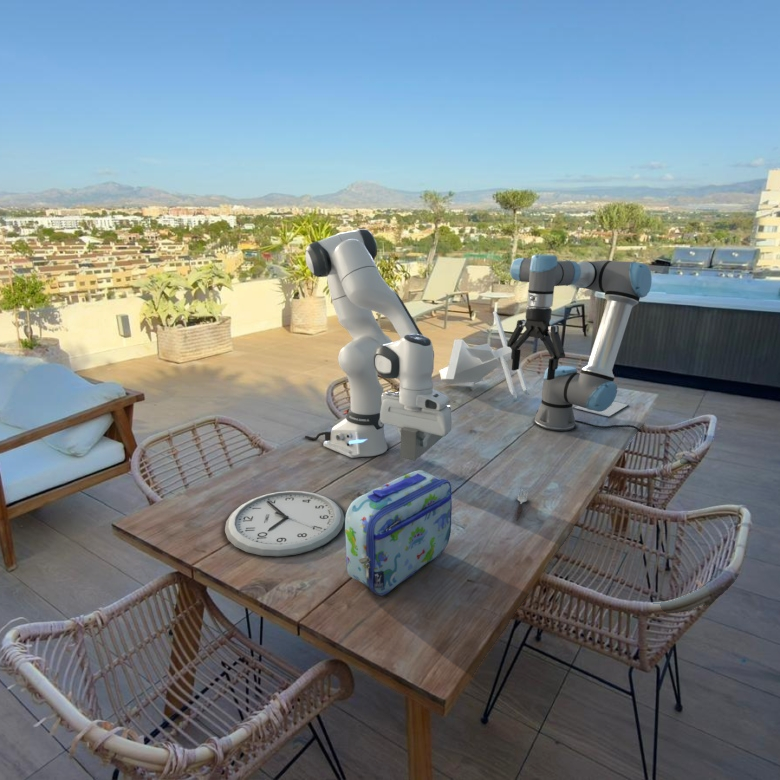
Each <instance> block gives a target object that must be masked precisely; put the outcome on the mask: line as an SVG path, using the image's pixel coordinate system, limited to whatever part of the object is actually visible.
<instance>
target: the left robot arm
mask: <svg viewBox="0 0 780 780" xmlns="http://www.w3.org/2000/svg"><path fill="white" fill-rule="evenodd" d="M304 251H305V256H304V257H305V258H304V260H305V264H306V266H307V269H308V270H309V272H310V273H311V274H312V275H313V276H315V277H316V278H326V280H327V287H328V292H329V295H330V298H331V302H332V305H333V308H334V310H335V314H336V317H337V320H338V323H339V324H340V326H341V327H343V328H344V329H345V330H346V331H347V332H348V334H349V336H350V337H351V338H352V340H350V341H349V342H348V343H346V344H345V345H344V346H343V347H342V348H341V349H340V350H339V353H338V355H337V356H338V357H337V361H338V365H339V367H340V369H341V370H342V371H343V372H344V374H345V375H346V379H347V381H348V384H349V396H350V397H349V400H350V405H349V406H350V407H349V408H347V409H346V410H344V411H343V415H346V417H345V418H343V419H342V420H341V421H339V422H338V423H336V424H335V425H334V426H332V425H331V426H330V427H328V428H327V429H326V430H325V431H322V432H319V433H318V434H316V436H315V437H312V436H308V435H305V436H304V439H307V440H311V441H316V440H318V439H319V438H320V437H321V436H324V441H323V447H324V448H327V449H329V450H331V451H334V452H336V453H338V454H341V455H343V456H346V457H349V458H352V459H354V458H355V459H356V458H361V457H363V458H364V457H375V456H379V455H382V454H384V453H386V452H387V450H388V448H389V447H388V445H387V444H388V443H387V441H386V437H385V436H386V434H385V425H388V426H392V427H397V429H396V430H397V433H398V434H399V436H400V437H401V429H402V428H403V427H408V428H413V429H418V430H419V431H421V432H424V436H426V437H425V438H424V439H422V440H420V446H422V447H426V446H427V440H428V439H429V437H430V436H431V434H435V435H439V436H444V437H446V436H447V435H449V434H450V433H451V431H452V426H453V425H452V424H453V420H452V419H453V418H452V409H451V410H450V408H449V407H448V406H447V405H449V404H450V402H451V401H450V397H449V395H446V394H443V393H442V392H440V391H438V390H436V389H434V385H433V384H434V383H433V379H432V378H433V377H432V376H433V373H434V369H435V368H434V365H435V350H434V346H433V343H432V340H431V339H430V338H429V337H427V336H426V335H424V334H423V333H422V331H421V330H420V328H419V326H418V325H417V324H416V323H417V322H415V320H414V318H413V316H412V315H411V313H410V311H409V310H408V308H407V306H406V304H405V303H404V301H403V300H402V298H401V297H400V295H399V294H398V293H397V292H396V291H395V290H394V289H393V288H391V287H390V285H388V283H387V282H386V281H385V280H384V278H383V276H382V275H381V273H380V271H379V269H378V267H377V264H376V262H375V259H376V257H377V255H378V245H377V240H376V239H375V236H374V235H373V233H372V232H371V231H370V230H369V229H366V228H358V229H355V230H351V231H344V232H340V233H336V234H334V235H331V236H329V237H325V238H322V239H320V240H317V241H316V240H315V241H313V242H311V243H309V244H308V245H307V246H306V248H305V250H304ZM373 312H375V313H378V314H380V315H382V316H384V317H386V319H388V320H389V321H390V323H391V325H392V326H393V328H394V329H395V331H396V333H397V335H398V337H399V338H400V339H399V340H398V339H397V340H396V341H392V339H391V338H390V337H389V336H388V335H387V334H386V333H385V332H384V331H383V329H382V328H381V326H380V325H379V323H378V321H377V320H376V318H375V316H374V313H373ZM378 375H379V376H380V377H381V378H384V379H391V380H392V379H393V380H394V379H397V380H398V381H399V386H398V387H399V391H398V392H396V391H391V390H387V391H385V390H384V386H383V384H382V383H380V380H379V376H378Z"/></svg>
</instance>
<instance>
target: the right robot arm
mask: <svg viewBox="0 0 780 780" xmlns="http://www.w3.org/2000/svg"><path fill="white" fill-rule="evenodd" d="M509 272H510V277H511V278H512V280H514V281H517V282H521V283H528V288H527V289H528V290H527V300H526V305H527V307H526V308H525V319H526V320H525V319H518V320H517V321H516V326H515V328H514V330H513V332H512V334H511V335H510V337H509V339H508V341H507V347H510V348H511V349H512V353H511V360H512V362H511V371H517V370H518V369H519V362H520V361H521V349H520V348H521V347H522V345H523V344H525V342H526V341H527V340H528V339H529V338H535V339H540V341H542V343H543V345H544V346H545V348H546V350H547V352H548V354H549V356H550V358H549V359H548V366H547V368H546V369H545V371H544V375H543V378H542V379H543V381H542V382H543V383H542V394H541V402H540V405H539V407H538V409H537V411H536V413H535V417H534V424H535V425H536V426H537V427H539V428H542V429H544V430H549V431H556V432H567V431H572V430H574V429H575V428H576V423H577V424H582V425H585V426H589V427H591V428H592V427H593V428H598V429H611V428H632V429H635V430H636V431H637V432H639V433H642V432H643V431H642V429H640V428H639V427H637V426H635V425H632V424H612V425H597V424H593V423H589V422H585V421H581V420H578V419H576V418H575V417H576V416H575V413H574V407H573V405H574V406H580V407H583V408H586V409H588V410H594V411H598V412H601V411H604V410H606V409H607V408H608V407H610V405H611V404H612V403H613V401H614V402H615V399H616V397H617V394H618V385H617V384H616V382H615V381H614V380H615V376H614V374H613V369H614V366H615V363H616V360H617V356H618V353H619V350H620V347H621V344H622V341H623V338H624V334H625V331H626V328H627V325H628V322H629V318H630V315H631V313H632V309H633V307H634V306H637V305H638V304H639V302H640V300H641V299H642V298H645V297H647V296H648V294H649V293H650V290H651V288H652V282H653V279H652V271H651V269H650V267H649V266H648V264H646V263H643V262H636V261H621V260H610V259H609V260H594V261H593V260H592V261H586V260H582V261H579V262H576V260H575V261H574V260H567V259H566V260H558V256H557V255H555V254H534V255H532V257H531V258H529V257H528V258H527V257H519V258H516V259H514V260H513V262H512V263H511V265H510V271H509ZM572 285H573V286H575V287H576V288H578V289H586V290H589V291H594V292H598V293H603V294H604V296H603V297H604V299H605V300H606V304H605V307H604V311H603V314H602V317H601V320H600V324H599V325H598V330H597V333H596V335H595V339H594V341H593V342H594V343H593V345H592V349H591V352H590V354H589V355H590V356H589V359H588V362H587V365H586V366H584V367H582V368H581V369H580V373H578V368H577V367H576V366H571V365H570V366H569V365H559V360H560V359H563V358H565V357H566V352H565V350H564V346H563V343H562V339H561V335H560V326H559V325H550V322H551V319H552V312H553V310H552V307H553V303H554V292H555V287H562V286H564V287H568V286H572ZM524 328H525V330H524ZM523 330H524V332H523ZM521 334H522V335H521ZM520 363H521V362H520Z"/></svg>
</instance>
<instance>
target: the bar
mask: <svg viewBox="0 0 780 780" xmlns="http://www.w3.org/2000/svg"><path fill="white" fill-rule="evenodd" d="M447 406H448V407H449V408H450V410H451V411H452V406H451V405H449V404H448V405H447ZM425 437H426V436H424V432H421V431H419V430H418V429H413V428H408V427H403V428H402V429H401V436H400V453H399V455H400V456H399V457H400V458H402V459H405V460H409V461H412V462H416V461H417V460H418V459H420V457H421V456H423V455H424V454H425V453H426V452H427V451H428V450H430V449H431V448H432V447H433V446H434V445H436V444H437V443H438V442H440V440H441V439H442V438H444V437H445V436H439V435H435V434H431V436H430V437H429V439H428V440H427V446H426V447H422V446H420V440H422V439H424V438H425Z"/></svg>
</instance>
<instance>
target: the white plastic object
mask: <svg viewBox="0 0 780 780" xmlns="http://www.w3.org/2000/svg"><path fill="white" fill-rule="evenodd" d="M492 315H493V319H494V321H495V324H496V325H495V326H496V328H497V332H498V335H499V338H500V342H501V345H502V347H500V348H498V349H496V350H495V349H493V348H492V347H491V346H490V344H489V343H488V342H487V343H483V344H479V345H473V346H469V345H468V343H466V342H465V340H464V339H463V338H460V339H458V338H454V340H453V344H452V349H451V353H450V357H449V362H448V366H446V367H444V368H442V369H440V370H439V371H438V372H439V376H440V381H442V383H443V384H444V385H445V386H449V385H458V384H467V383H468V384H469V383H473V384H477V383H480V382H482V381H484V378H485V377H486V376H487V375H489V374H490V373H492V372H494V371H495V370H496V369H497V368H499V367H500V366H502V370H503V373H504V376H505V380H506V383H507V386H508V390H509V393H510V394H511V395H512V397H513V398H514V399H515V400H517V392H516V391H517V390H516V388H515V385H514V381H513V378H512V375H511V371H510V369H509V365H508V361H510V360H512V359H511V353H512V349H511V348H510V347H507V343H508V341H507V337H506V334H505V331H504V328H503V325H502V321H501V318H500V315H499V314H498V312H497V311H496V310H495V311H492ZM522 368H523V367H522V366H521V362H519V369H518V370H516V372H517V376H518V380H519V382H520V385H521V389H522V391H523V393H524V395H525V396H526V397H528V396H531V395H530V390H529V388H528V387H529V386H528V384H527V381H526V378H525V375H524V371H523V369H522Z"/></svg>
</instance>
